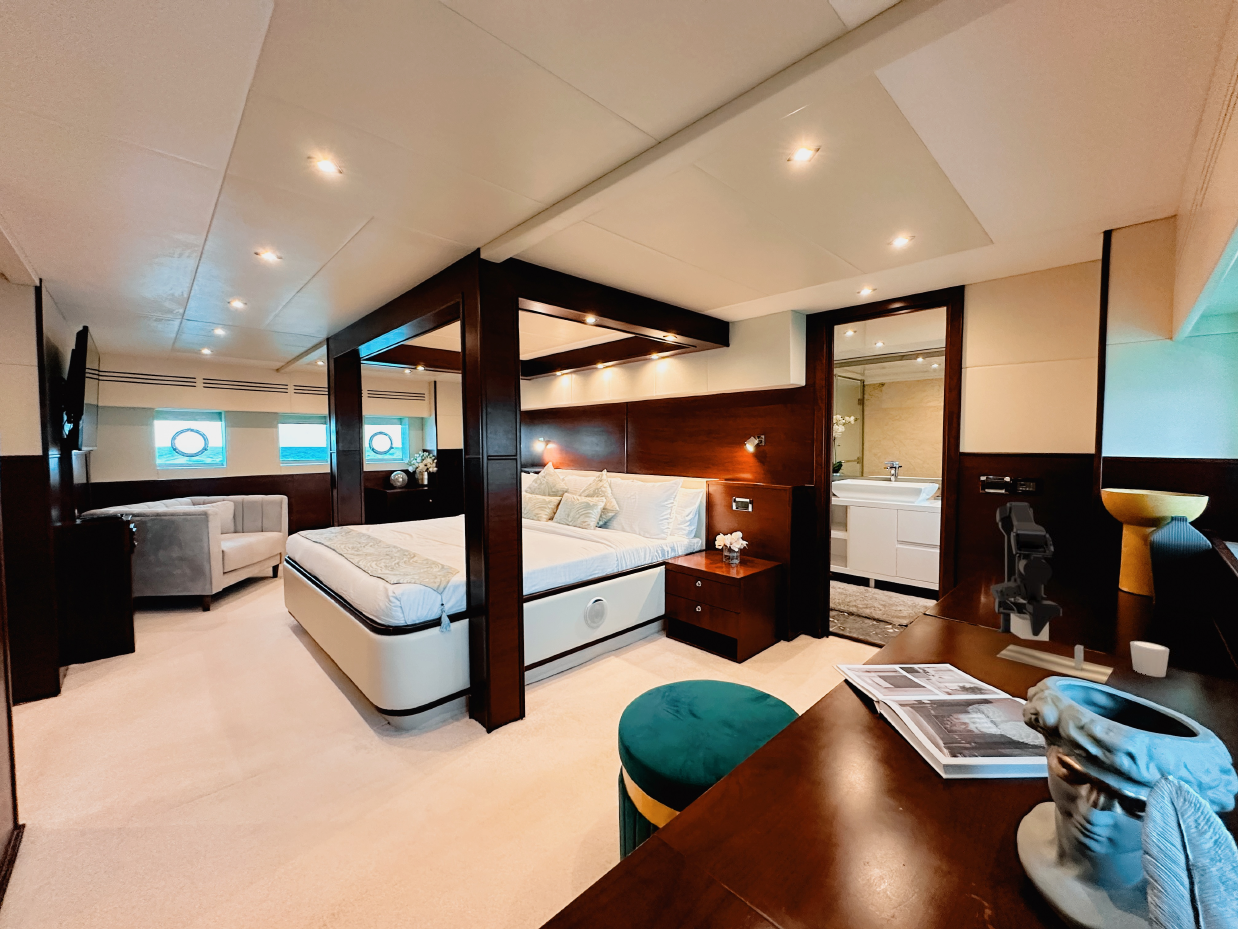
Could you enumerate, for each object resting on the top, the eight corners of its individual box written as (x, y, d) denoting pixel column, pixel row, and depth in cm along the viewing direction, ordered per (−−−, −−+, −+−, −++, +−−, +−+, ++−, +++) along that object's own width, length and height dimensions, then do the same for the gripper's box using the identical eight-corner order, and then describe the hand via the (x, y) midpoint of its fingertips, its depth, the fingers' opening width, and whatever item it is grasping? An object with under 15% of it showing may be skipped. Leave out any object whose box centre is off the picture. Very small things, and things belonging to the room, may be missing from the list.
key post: (1076, 666, 126) (1077, 644, 126) (1083, 667, 125) (1083, 646, 125) (1074, 668, 125) (1074, 647, 125) (1080, 670, 124) (1081, 648, 124)
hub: (1010, 631, 136) (1010, 612, 136) (1036, 633, 135) (1036, 614, 135) (1021, 638, 131) (1021, 619, 131) (1048, 641, 129) (1048, 621, 129)
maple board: (1010, 649, 141) (1011, 644, 141) (1113, 674, 125) (1113, 668, 125) (996, 661, 133) (996, 655, 133) (1104, 689, 116) (1104, 683, 116)
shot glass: (1177, 678, 123) (1177, 650, 123) (1149, 678, 123) (1149, 650, 123) (1148, 667, 130) (1148, 640, 130) (1122, 666, 130) (1122, 640, 130)
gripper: (980, 566, 144) (979, 619, 144) (1010, 580, 126) (1010, 640, 126) (1025, 568, 141) (1025, 622, 141) (1063, 583, 123) (1063, 645, 123)
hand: (1029, 632), depth 133 cm, fingers closed on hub, 6 cm apart
